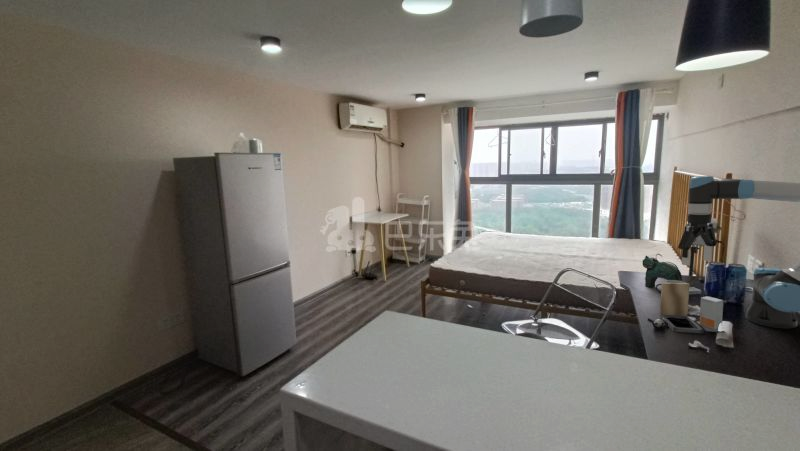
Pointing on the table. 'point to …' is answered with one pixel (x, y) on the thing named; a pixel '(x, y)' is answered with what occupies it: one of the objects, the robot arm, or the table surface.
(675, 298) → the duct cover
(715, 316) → the skincare box
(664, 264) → the ceramic cat
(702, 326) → the rubber mat
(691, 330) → the grey picture frame
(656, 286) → the coffee mug
